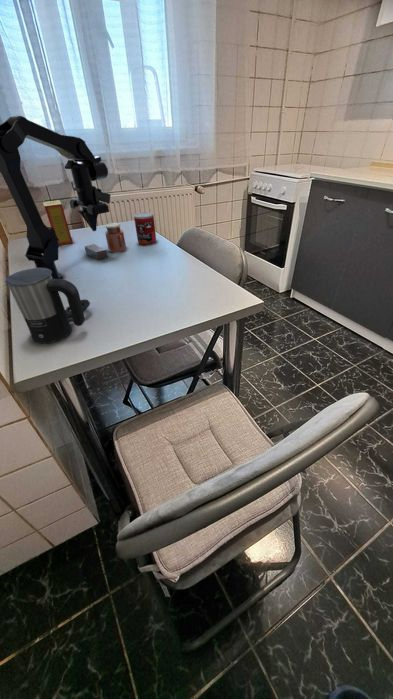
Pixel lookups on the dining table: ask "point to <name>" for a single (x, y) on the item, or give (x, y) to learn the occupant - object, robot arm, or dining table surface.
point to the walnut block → (96, 251)
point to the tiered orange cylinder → (115, 238)
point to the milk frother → (46, 303)
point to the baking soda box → (58, 221)
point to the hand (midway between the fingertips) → (94, 230)
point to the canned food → (145, 228)
